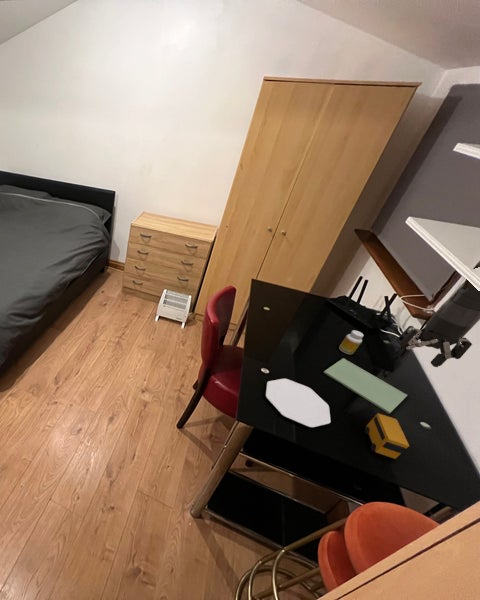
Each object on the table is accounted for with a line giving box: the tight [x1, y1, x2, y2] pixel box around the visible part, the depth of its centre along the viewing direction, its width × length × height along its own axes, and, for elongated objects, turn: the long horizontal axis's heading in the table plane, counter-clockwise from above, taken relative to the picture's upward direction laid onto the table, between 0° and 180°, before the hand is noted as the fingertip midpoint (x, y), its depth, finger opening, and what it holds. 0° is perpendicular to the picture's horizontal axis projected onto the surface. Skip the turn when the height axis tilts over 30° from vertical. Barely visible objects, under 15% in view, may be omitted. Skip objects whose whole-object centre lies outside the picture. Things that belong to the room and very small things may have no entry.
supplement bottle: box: [338, 329, 364, 355], centre depth 137 cm, size 5×5×10 cm
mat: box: [323, 357, 408, 415], centre depth 123 cm, size 22×16×1 cm
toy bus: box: [364, 412, 410, 460], centre depth 99 cm, size 10×5×8 cm, turn 157°
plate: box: [265, 378, 332, 429], centre depth 112 cm, size 20×20×2 cm
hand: (416, 360), depth 96 cm, fingers open, 8 cm apart
